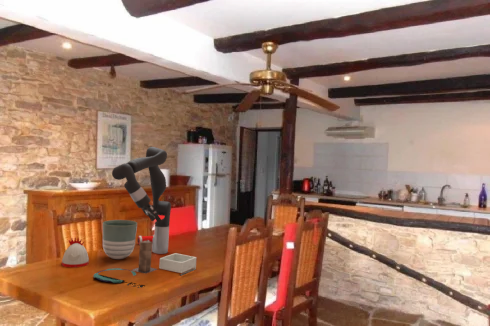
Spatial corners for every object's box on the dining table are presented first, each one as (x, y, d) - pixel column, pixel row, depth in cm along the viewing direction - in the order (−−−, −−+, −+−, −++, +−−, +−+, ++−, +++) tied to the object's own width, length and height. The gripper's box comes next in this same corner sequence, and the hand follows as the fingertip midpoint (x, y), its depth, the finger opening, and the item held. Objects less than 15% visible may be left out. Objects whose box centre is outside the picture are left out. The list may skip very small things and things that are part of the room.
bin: (159, 271, 222) (159, 258, 222) (174, 265, 235) (175, 253, 235) (181, 275, 216) (182, 262, 216) (195, 269, 229) (196, 257, 229)
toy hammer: (163, 250, 269) (164, 241, 268) (146, 251, 263) (146, 242, 263) (153, 243, 288) (153, 234, 288) (136, 244, 283) (137, 234, 282)
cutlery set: (112, 269, 220) (113, 265, 219) (159, 280, 208) (159, 276, 208) (85, 280, 201) (86, 275, 201) (135, 292, 190) (135, 287, 190)
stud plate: (130, 272, 216) (131, 262, 215) (142, 268, 225) (143, 258, 224) (145, 276, 211) (146, 266, 211) (157, 271, 220) (158, 262, 220)
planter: (125, 252, 256) (127, 218, 256) (141, 259, 242) (143, 224, 242) (94, 256, 242) (96, 221, 242) (110, 264, 228) (112, 226, 228)
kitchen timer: (64, 260, 231) (65, 234, 230) (89, 260, 234) (91, 234, 234) (59, 267, 217) (61, 240, 217) (86, 267, 221) (88, 240, 220)
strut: (138, 269, 217) (140, 242, 217) (143, 267, 221) (145, 240, 221) (145, 271, 215) (146, 243, 215) (150, 269, 219) (152, 241, 219)
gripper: (150, 193, 209) (167, 217, 214) (140, 192, 221) (157, 215, 226) (139, 202, 206) (156, 226, 211) (129, 200, 218) (146, 224, 222)
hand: (156, 220), depth 218 cm, fingers open, 8 cm apart
